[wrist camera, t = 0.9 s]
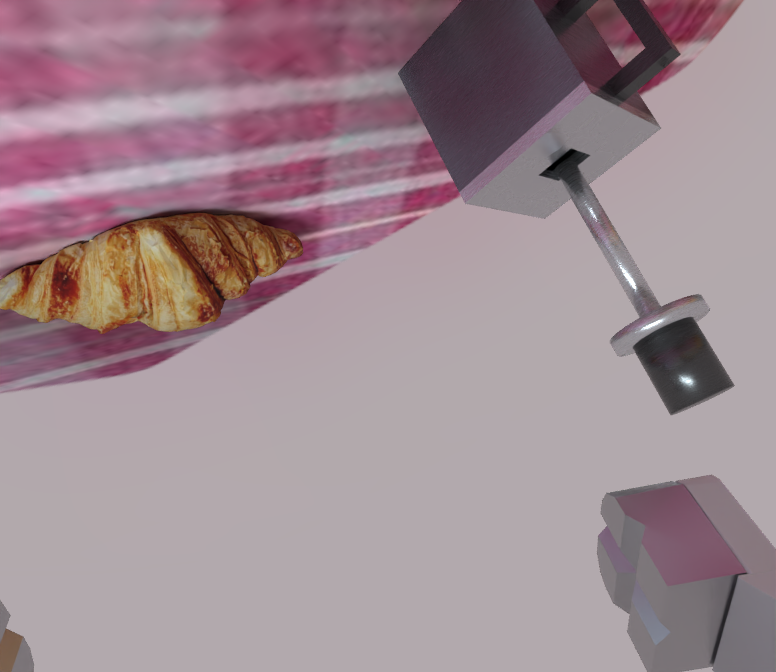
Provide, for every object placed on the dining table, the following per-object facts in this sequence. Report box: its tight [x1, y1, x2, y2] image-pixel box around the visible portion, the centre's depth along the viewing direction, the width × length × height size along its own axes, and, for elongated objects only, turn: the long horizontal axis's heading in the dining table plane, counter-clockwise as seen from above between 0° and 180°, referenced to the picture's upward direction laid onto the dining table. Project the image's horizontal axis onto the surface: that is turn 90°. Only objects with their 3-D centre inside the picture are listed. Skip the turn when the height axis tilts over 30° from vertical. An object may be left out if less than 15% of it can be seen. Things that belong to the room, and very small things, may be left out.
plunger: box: [555, 158, 734, 415], centre depth 38 cm, size 5×5×15 cm
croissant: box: [0, 213, 303, 334], centre depth 49 cm, size 21×10×8 cm, turn 76°
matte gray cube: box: [398, 0, 680, 219], centre depth 41 cm, size 12×9×10 cm
